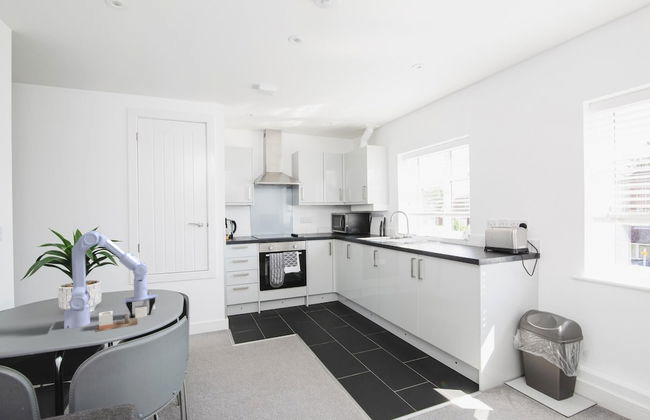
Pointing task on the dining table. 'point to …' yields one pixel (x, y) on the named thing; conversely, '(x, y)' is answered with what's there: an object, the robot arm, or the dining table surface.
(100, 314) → the seated sleeve
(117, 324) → the pin board
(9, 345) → the dining table surface
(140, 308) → the sleeve
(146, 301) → the flask
